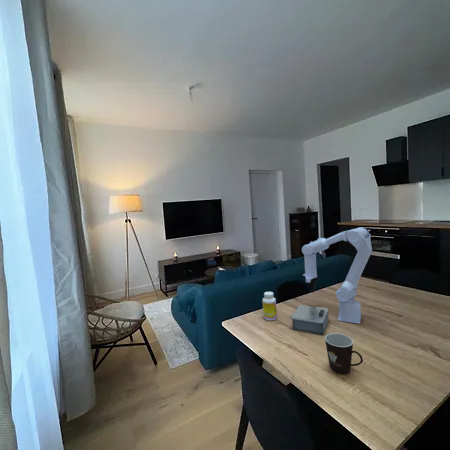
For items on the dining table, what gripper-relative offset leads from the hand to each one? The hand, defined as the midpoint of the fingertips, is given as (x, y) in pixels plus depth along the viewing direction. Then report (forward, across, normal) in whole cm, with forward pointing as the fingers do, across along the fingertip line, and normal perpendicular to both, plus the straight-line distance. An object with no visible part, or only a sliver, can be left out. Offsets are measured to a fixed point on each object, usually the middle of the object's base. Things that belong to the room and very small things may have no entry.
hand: (311, 291), depth 131 cm
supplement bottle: (+10, +18, -17) cm, 27 cm away
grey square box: (+9, +18, +3) cm, 21 cm away
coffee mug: (+10, +46, +19) cm, 51 cm away
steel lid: (+4, +18, +3) cm, 19 cm away
